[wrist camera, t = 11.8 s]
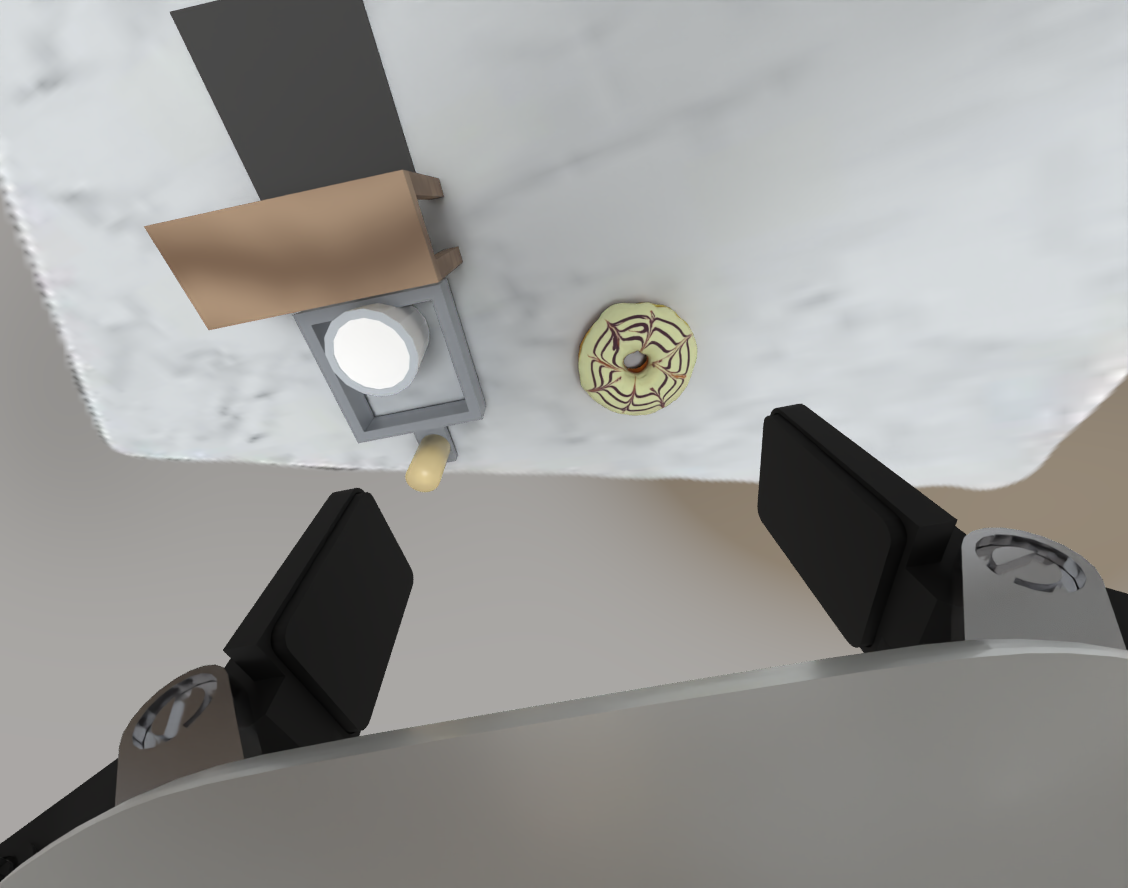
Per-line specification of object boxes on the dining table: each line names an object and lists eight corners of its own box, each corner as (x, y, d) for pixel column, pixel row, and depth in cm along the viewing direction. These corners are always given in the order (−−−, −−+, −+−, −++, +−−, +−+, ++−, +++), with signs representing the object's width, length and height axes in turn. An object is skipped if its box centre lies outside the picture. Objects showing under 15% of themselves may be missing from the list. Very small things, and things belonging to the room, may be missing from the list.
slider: (279, 243, 33) (226, 251, 27) (426, 211, 32) (403, 213, 27) (388, 468, 44) (367, 507, 38) (499, 447, 43) (494, 484, 38)
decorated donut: (591, 286, 37) (597, 294, 33) (703, 310, 38) (718, 320, 35) (566, 393, 42) (569, 409, 38) (666, 410, 43) (676, 427, 40)
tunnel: (250, 219, 32) (143, 226, 24) (438, 178, 32) (402, 169, 23) (289, 298, 35) (208, 330, 27) (462, 261, 35) (438, 282, 26)
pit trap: (171, 13, 26) (169, 11, 26) (352, -31, 26) (351, -32, 26) (265, 208, 32) (264, 208, 32) (416, 175, 32) (415, 175, 31)
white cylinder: (351, 350, 38) (316, 378, 32) (366, 277, 35) (331, 293, 29) (425, 377, 40) (406, 409, 34) (446, 310, 37) (428, 331, 31)
